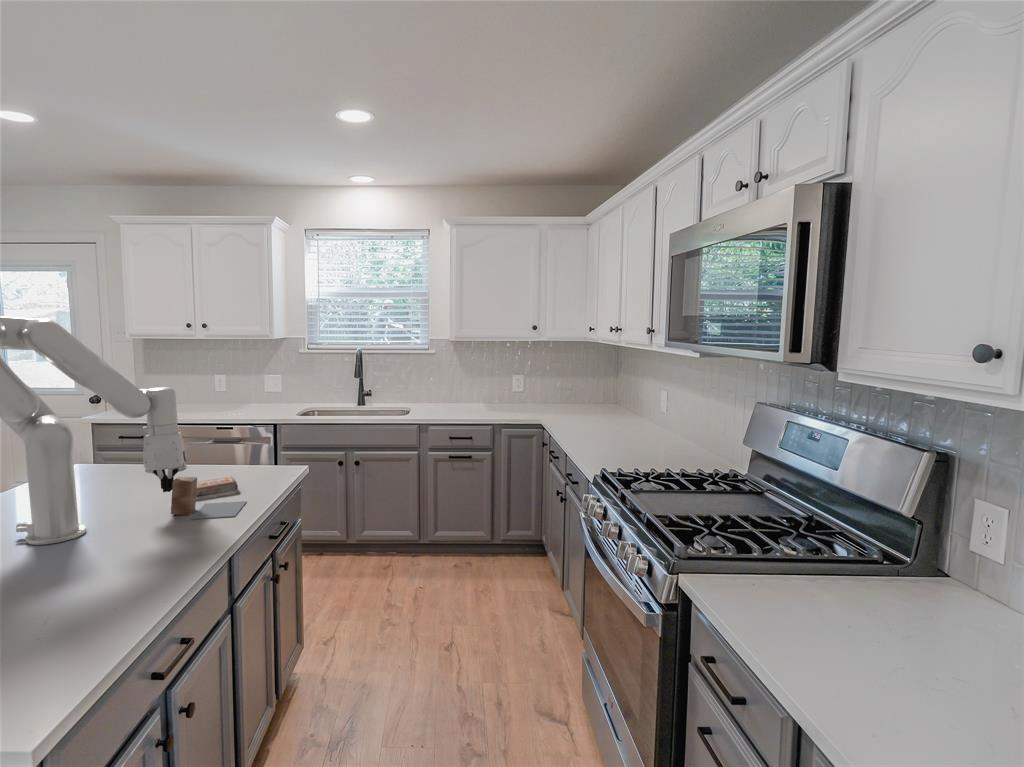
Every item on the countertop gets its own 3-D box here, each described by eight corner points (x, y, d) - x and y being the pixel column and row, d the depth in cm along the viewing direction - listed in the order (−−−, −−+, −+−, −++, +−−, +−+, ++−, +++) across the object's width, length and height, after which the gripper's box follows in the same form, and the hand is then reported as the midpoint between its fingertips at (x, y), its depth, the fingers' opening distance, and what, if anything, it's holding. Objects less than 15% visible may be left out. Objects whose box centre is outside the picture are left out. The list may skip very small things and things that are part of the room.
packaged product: (232, 473, 197) (239, 480, 189) (233, 487, 198) (239, 494, 190) (172, 482, 186) (176, 490, 178) (173, 497, 187) (177, 505, 179)
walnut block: (170, 514, 167) (172, 481, 166) (177, 508, 172) (179, 476, 171) (189, 515, 168) (191, 481, 167) (195, 509, 173) (197, 477, 172)
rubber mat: (189, 519, 164) (189, 518, 164) (205, 504, 178) (205, 503, 178) (234, 516, 167) (234, 515, 167) (246, 502, 180) (246, 501, 180)
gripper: (128, 433, 162) (134, 496, 164) (186, 430, 165) (191, 492, 167) (139, 428, 169) (145, 488, 171) (195, 426, 172) (199, 485, 174)
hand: (168, 490), depth 169 cm, fingers closed
